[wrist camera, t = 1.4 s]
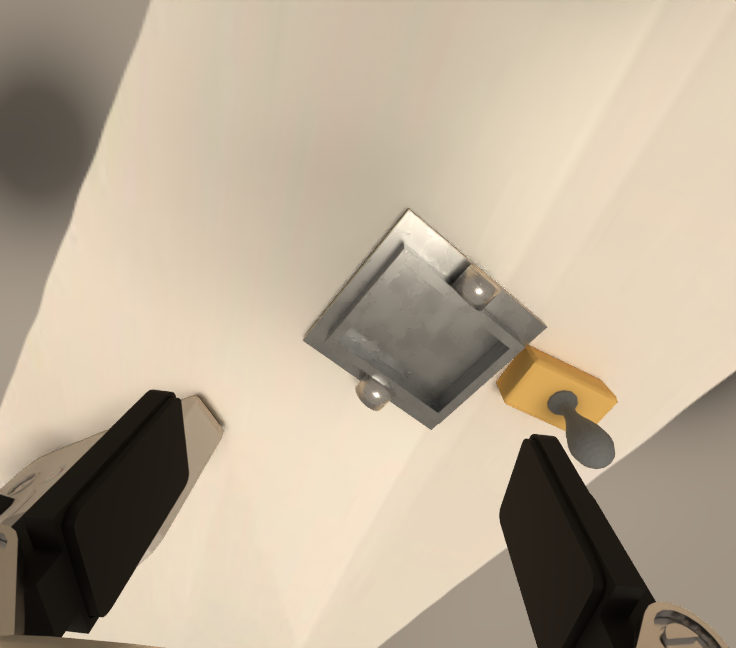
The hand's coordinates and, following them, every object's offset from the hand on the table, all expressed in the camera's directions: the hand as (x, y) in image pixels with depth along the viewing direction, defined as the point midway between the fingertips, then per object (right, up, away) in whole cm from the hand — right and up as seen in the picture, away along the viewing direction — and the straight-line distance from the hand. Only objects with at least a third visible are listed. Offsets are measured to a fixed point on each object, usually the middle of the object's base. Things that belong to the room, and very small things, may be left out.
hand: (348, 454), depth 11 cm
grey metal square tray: (+6, +3, +30) cm, 31 cm away
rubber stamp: (+20, -3, +32) cm, 38 cm away
